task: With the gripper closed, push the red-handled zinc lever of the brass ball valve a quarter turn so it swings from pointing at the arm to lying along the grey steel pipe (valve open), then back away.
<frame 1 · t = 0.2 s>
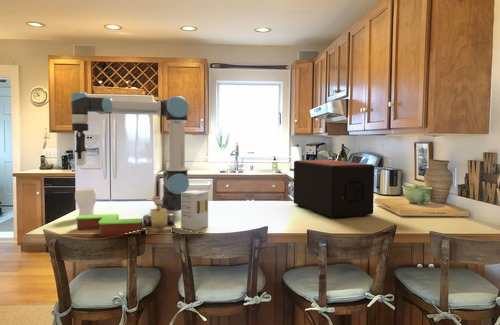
hand: (81, 164, 188), 28 cm above the countertop, fingers open, 13 cm apart
board: (158, 227, 170), on the countertop
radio: (330, 210, 213), on the countertop
valve: (158, 215, 169), point 6 cm above the countertop
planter: (109, 231, 165), on the countertop
supplement box: (194, 227, 171), on the countertop
cup: (86, 217, 191), on the countertop
lever: (157, 200, 174), point 12 cm above the countertop, hinge at -90.0°
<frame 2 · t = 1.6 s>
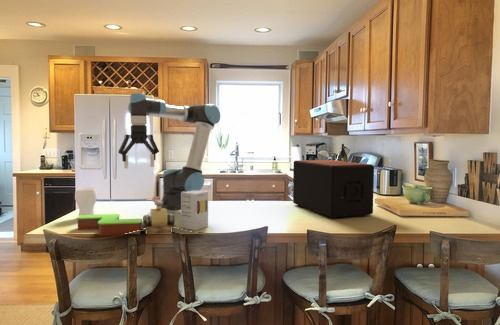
hand: (139, 167, 182), 27 cm above the countertop, fingers open, 13 cm apart
nothing on the countertop moved.
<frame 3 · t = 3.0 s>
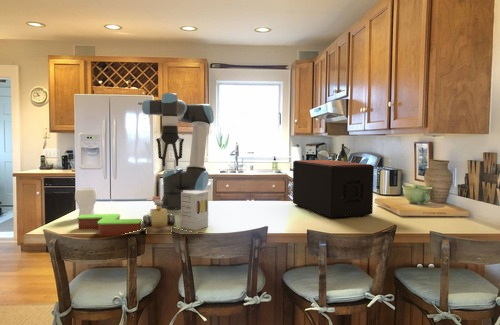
hand: (170, 172, 180), 25 cm above the countertop, fingers open, 4 cm apart
nothing on the countertop moved.
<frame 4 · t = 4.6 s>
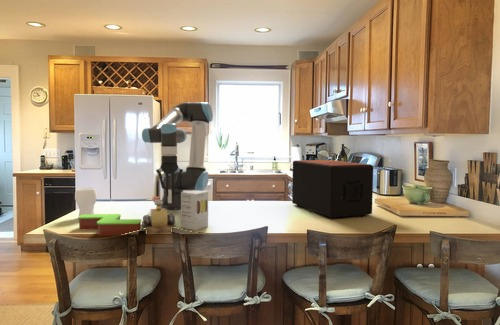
hand: (169, 202, 180), 10 cm above the countertop, fingers closed
nothing on the countertop moved.
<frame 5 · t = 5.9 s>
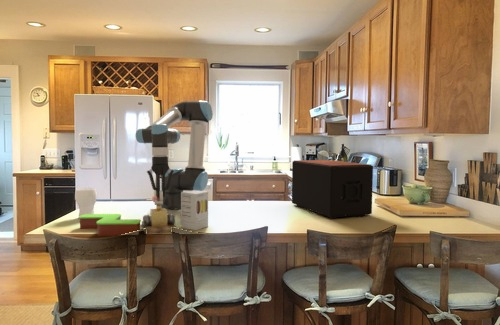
hand: (160, 204, 179), 9 cm above the countertop, fingers closed
lever: (157, 200, 174), point 12 cm above the countertop, hinge at -89.6°, touching gripper
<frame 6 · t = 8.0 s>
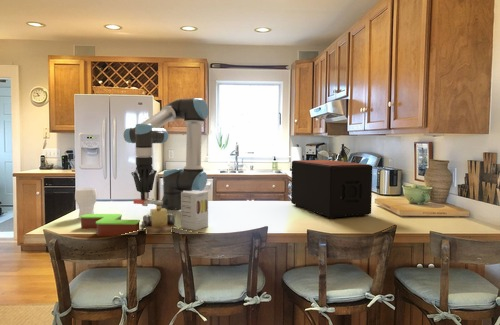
hand: (144, 205, 174), 9 cm above the countertop, fingers closed
lever: (148, 201, 170), point 12 cm above the countertop, hinge at -37.8°, touching gripper
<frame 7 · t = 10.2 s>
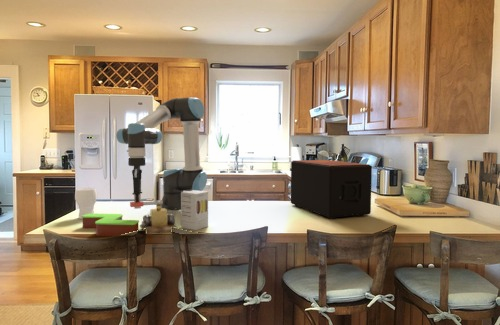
hand: (137, 208, 168), 9 cm above the countertop, fingers closed
lever: (146, 203, 167), point 12 cm above the countertop, hinge at 3.5°, touching gripper
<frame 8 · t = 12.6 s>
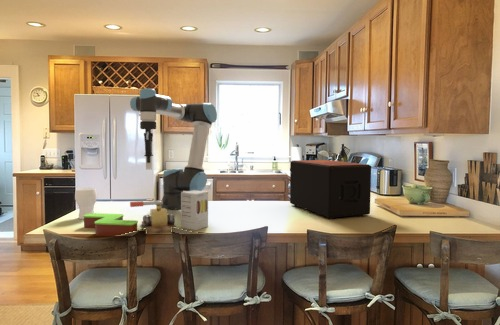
hand: (148, 169, 179), 26 cm above the countertop, fingers closed
lever: (146, 203, 167), point 12 cm above the countertop, hinge at 2.2°
at the end: lever at +2° (first picture: -90°) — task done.
